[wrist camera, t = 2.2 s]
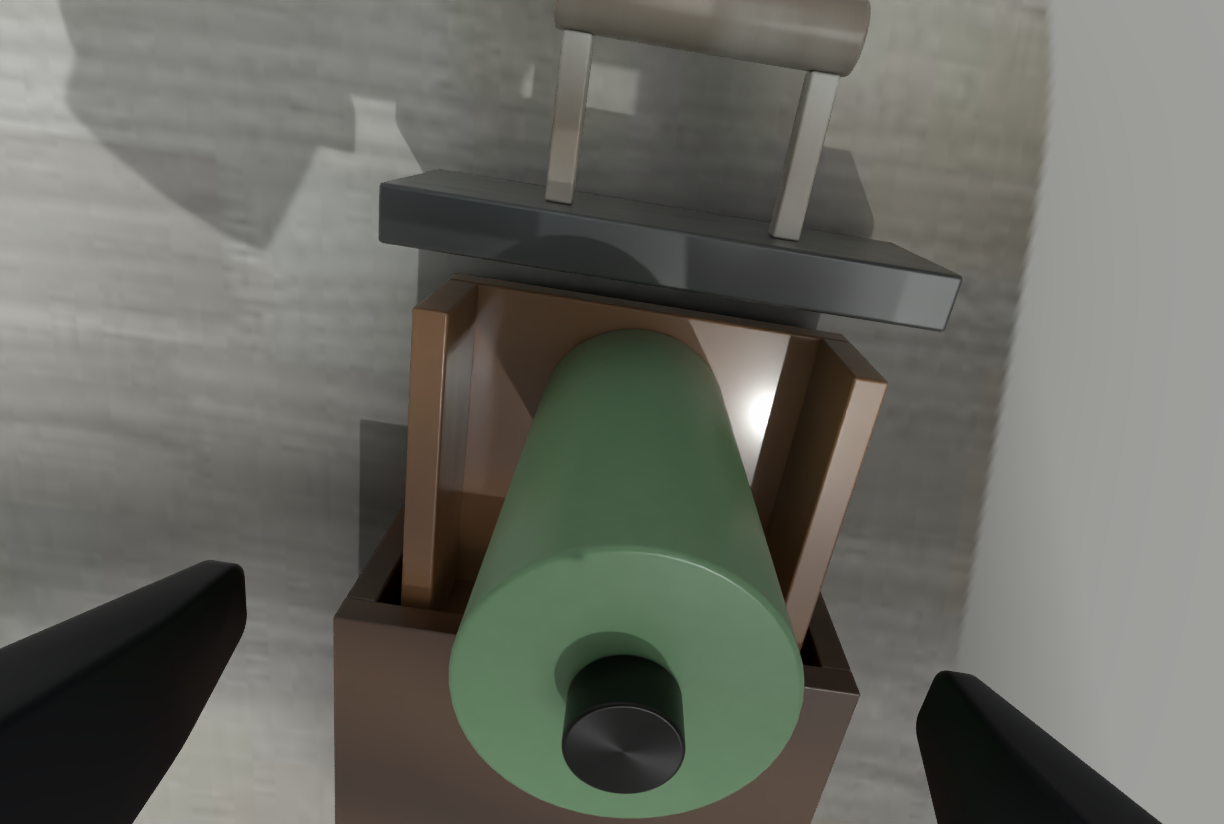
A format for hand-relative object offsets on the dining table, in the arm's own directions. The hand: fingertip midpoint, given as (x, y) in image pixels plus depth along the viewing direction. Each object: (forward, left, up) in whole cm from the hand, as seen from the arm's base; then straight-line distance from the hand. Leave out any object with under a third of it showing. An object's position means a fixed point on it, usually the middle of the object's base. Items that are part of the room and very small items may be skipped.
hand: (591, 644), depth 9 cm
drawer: (-1, 0, -11) cm, 12 cm away
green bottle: (-1, +1, -10) cm, 10 cm away
